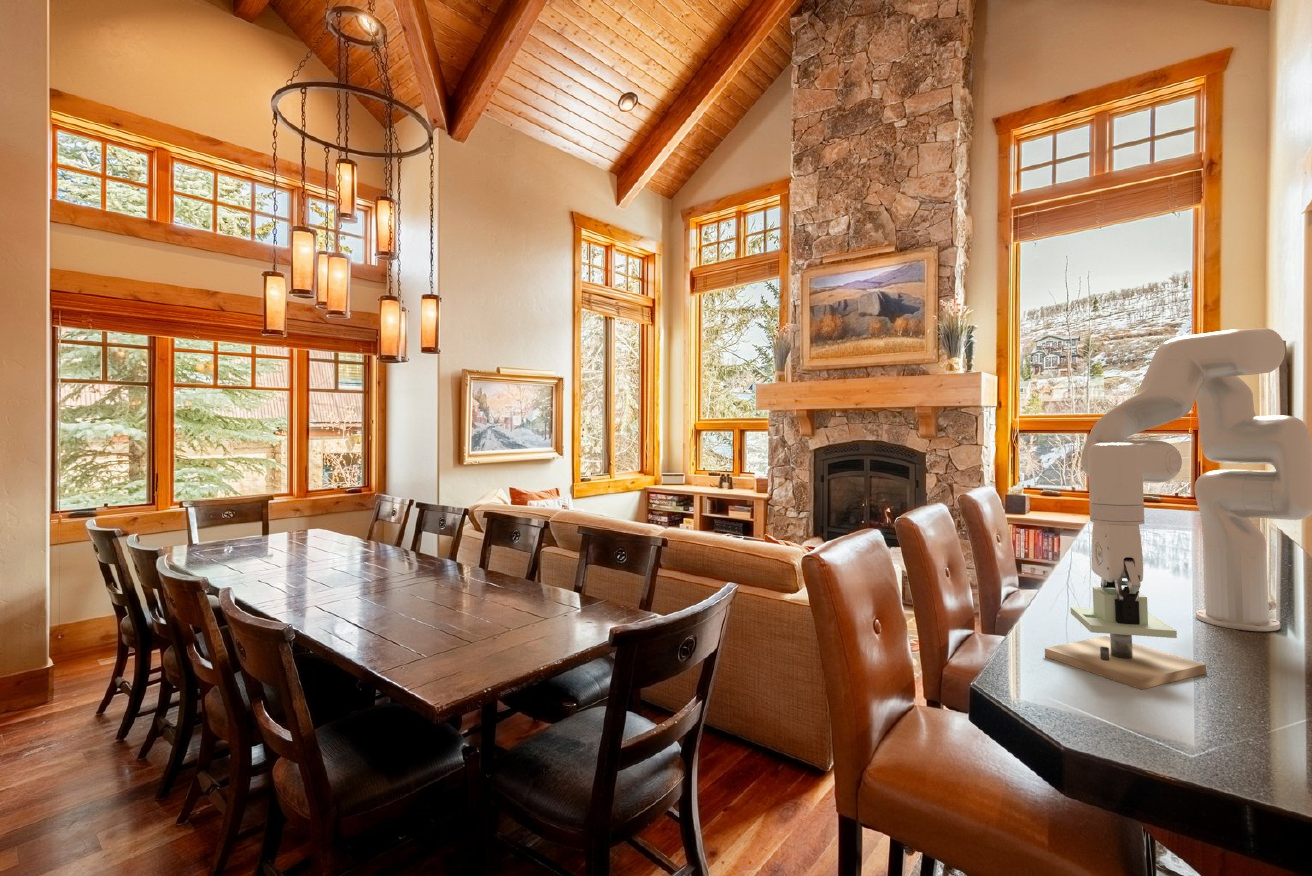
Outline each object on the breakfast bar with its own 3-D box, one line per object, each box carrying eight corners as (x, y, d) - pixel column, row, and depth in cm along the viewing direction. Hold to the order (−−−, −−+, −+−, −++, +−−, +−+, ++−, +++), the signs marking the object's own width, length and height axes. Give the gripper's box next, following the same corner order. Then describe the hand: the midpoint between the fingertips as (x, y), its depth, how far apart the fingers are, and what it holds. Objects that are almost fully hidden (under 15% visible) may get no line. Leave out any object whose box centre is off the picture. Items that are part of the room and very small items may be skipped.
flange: (1147, 617, 108) (1145, 586, 108) (1176, 638, 97) (1175, 602, 97) (1070, 613, 112) (1069, 582, 112) (1091, 632, 101) (1089, 598, 101)
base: (1106, 643, 115) (1105, 636, 115) (1206, 673, 100) (1206, 664, 100) (1044, 656, 110) (1044, 648, 110) (1141, 689, 95) (1140, 679, 95)
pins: (1118, 651, 107) (1117, 620, 107) (1136, 657, 104) (1135, 625, 104) (1093, 657, 105) (1092, 625, 105) (1111, 662, 102) (1110, 630, 102)
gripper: (1075, 508, 114) (1079, 603, 114) (1108, 520, 98) (1111, 631, 98) (1123, 508, 112) (1127, 606, 112) (1164, 520, 96) (1169, 635, 95)
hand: (1120, 617), depth 105 cm, fingers closed on flange, 6 cm apart
